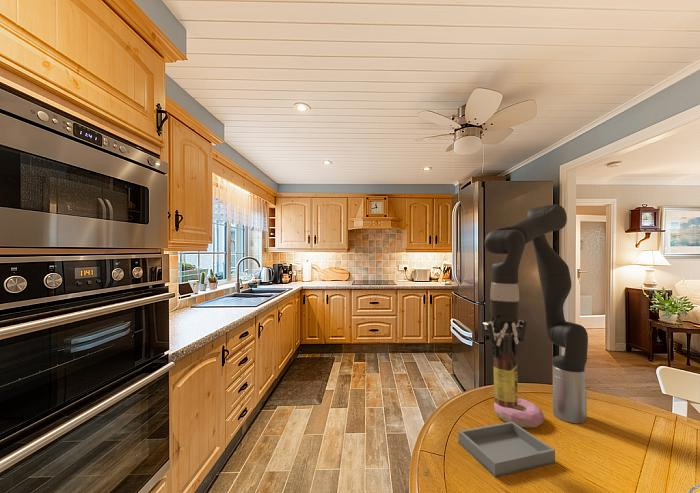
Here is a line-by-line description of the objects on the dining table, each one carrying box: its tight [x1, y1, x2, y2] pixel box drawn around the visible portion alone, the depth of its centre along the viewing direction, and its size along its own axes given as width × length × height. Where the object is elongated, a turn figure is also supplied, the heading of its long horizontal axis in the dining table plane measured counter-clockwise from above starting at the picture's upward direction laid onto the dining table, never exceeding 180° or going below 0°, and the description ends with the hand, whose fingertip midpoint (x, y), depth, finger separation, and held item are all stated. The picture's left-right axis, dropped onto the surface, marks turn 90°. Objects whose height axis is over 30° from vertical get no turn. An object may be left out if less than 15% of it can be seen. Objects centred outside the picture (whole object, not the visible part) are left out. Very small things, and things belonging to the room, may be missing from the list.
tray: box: [458, 422, 556, 478], centre depth 89 cm, size 20×15×4 cm
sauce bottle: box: [492, 332, 519, 408], centre depth 89 cm, size 6×6×20 cm
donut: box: [493, 397, 545, 429], centre depth 108 cm, size 16×15×5 cm
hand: (504, 356), depth 89 cm, fingers closed on sauce bottle, 5 cm apart
